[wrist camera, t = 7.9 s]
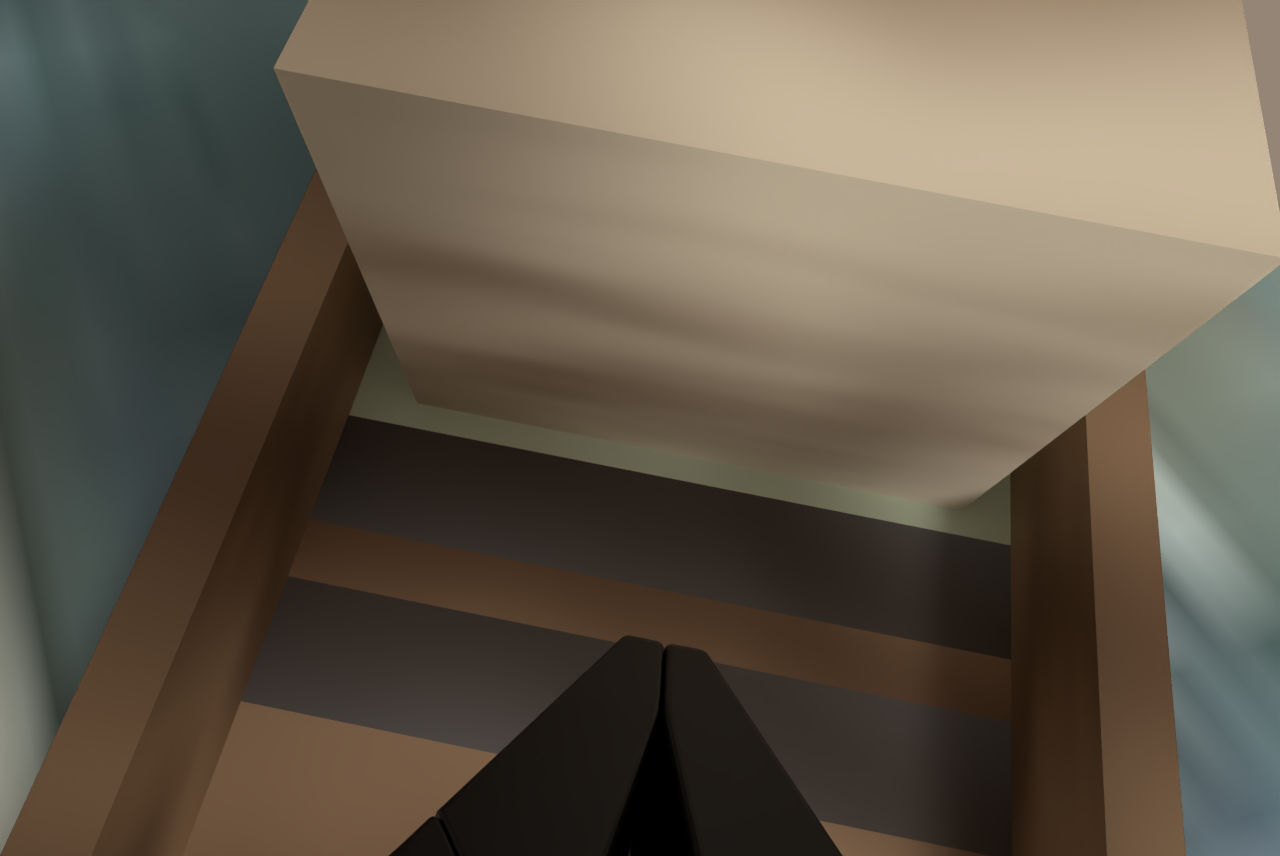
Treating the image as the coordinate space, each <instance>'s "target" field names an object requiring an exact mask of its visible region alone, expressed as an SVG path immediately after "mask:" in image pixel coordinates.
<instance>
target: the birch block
mask: <svg viewBox="0 0 1280 856" xmlns="http://www.w3.org/2000/svg"><path fill="white" fill-rule="evenodd" d="M273 69H274V71H275V73H276V76H277V78H278V80H279V83H280V85H281V87H282V90H283V92H284V94H285V97H286V99H287V101H288V104H289V106H290V108H291V111H292V113H293V115H294V118H295V120H296V122H297V125H298V127H299V129H300V132H301V134H302V136H303V139H304V141H305V143H306V146H307V148H308V150H309V152H310V155H311V157H312V159H313V162H314V164H315V166H316V169H317V171H318V173H319V176H320V178H321V180H322V183H323V185H324V187H325V190H326V192H327V194H328V197H329V199H330V201H331V204H332V206H333V208H334V211H335V213H336V215H337V218H338V220H339V222H340V225H341V227H342V229H343V232H344V234H345V236H346V239H347V241H348V243H349V246H350V248H351V250H352V253H353V255H354V257H355V260H356V262H357V264H358V267H359V269H360V271H361V273H362V276H363V278H364V280H365V283H366V285H367V287H368V290H369V292H370V294H371V297H372V299H373V301H374V304H375V306H376V308H377V311H378V313H379V315H380V318H381V320H382V322H383V325H384V327H385V329H386V332H387V334H388V336H389V339H390V341H391V343H392V346H393V348H394V350H395V353H396V355H397V357H398V360H399V362H400V364H401V367H402V369H403V371H404V374H405V376H406V378H407V381H408V383H409V385H410V387H411V390H412V392H413V394H414V397H415V399H416V401H417V403H419V404H424V405H429V406H434V407H439V408H444V409H449V410H455V411H460V412H465V413H470V414H475V415H480V416H485V417H490V418H495V419H500V420H505V421H510V422H515V423H520V424H526V425H531V426H536V427H541V428H546V429H551V430H556V431H561V432H566V433H571V434H576V435H581V436H586V437H591V438H596V439H602V440H607V441H612V442H617V443H622V444H627V445H632V446H637V447H642V448H647V449H652V450H657V451H662V452H667V453H673V454H678V455H683V456H688V457H693V458H698V459H703V460H708V461H713V462H718V463H723V464H728V465H733V466H738V467H743V468H749V469H754V470H759V471H764V472H769V473H774V474H779V475H784V476H789V477H794V478H799V479H804V480H809V481H814V482H819V483H825V484H830V485H835V486H840V487H845V488H850V489H855V490H860V491H865V492H870V493H875V494H880V495H885V496H890V497H896V498H901V499H906V500H911V501H916V502H921V503H926V504H931V505H936V506H941V507H946V508H951V509H956V510H961V511H962V510H963V509H964V508H966V507H967V506H968V505H969V504H971V503H972V502H973V501H975V500H976V499H977V498H979V497H980V496H981V495H982V494H984V493H985V492H986V491H988V490H989V489H990V488H992V487H993V486H994V485H995V484H997V483H998V482H999V481H1001V480H1002V479H1003V478H1004V477H1006V476H1007V475H1008V474H1010V473H1011V472H1012V471H1014V470H1015V469H1016V468H1017V467H1019V466H1020V465H1021V464H1023V463H1024V462H1025V461H1027V460H1028V459H1029V458H1030V457H1032V456H1033V455H1034V454H1036V453H1037V452H1038V451H1039V450H1041V449H1042V448H1043V447H1045V446H1046V445H1047V444H1049V443H1050V442H1051V441H1052V440H1054V439H1055V438H1056V437H1058V436H1059V435H1060V434H1062V433H1063V432H1064V431H1065V430H1067V429H1068V428H1069V427H1071V426H1072V425H1073V424H1074V423H1076V422H1077V421H1078V420H1080V419H1081V418H1082V417H1084V416H1085V415H1086V414H1087V413H1089V412H1090V411H1091V410H1093V409H1094V408H1095V407H1097V406H1098V405H1099V404H1100V403H1102V402H1103V401H1104V400H1106V399H1107V398H1108V397H1109V396H1111V395H1112V394H1113V393H1115V392H1116V391H1117V390H1119V389H1120V388H1121V387H1122V386H1124V385H1125V384H1126V383H1128V382H1129V381H1130V380H1132V379H1133V378H1134V377H1135V376H1137V375H1138V374H1139V373H1141V372H1142V371H1143V370H1144V369H1146V368H1147V367H1148V366H1150V365H1151V364H1152V363H1154V362H1155V361H1156V360H1157V359H1159V358H1160V357H1161V356H1163V355H1164V354H1165V353H1167V352H1168V351H1169V350H1170V349H1172V348H1173V347H1174V346H1176V345H1177V344H1178V343H1179V342H1181V341H1182V340H1183V339H1185V338H1186V337H1187V336H1189V335H1190V334H1191V333H1192V332H1194V331H1195V330H1196V329H1198V328H1199V327H1200V326H1201V325H1203V324H1204V323H1205V322H1207V321H1208V320H1209V319H1211V318H1212V317H1213V316H1214V315H1216V314H1217V313H1218V312H1220V311H1221V310H1222V309H1224V308H1225V307H1226V306H1227V305H1229V304H1230V303H1231V302H1233V301H1234V300H1235V299H1236V298H1238V297H1239V296H1240V295H1242V294H1243V293H1244V292H1246V291H1247V290H1248V289H1249V288H1251V287H1252V286H1253V285H1255V284H1256V283H1257V282H1259V281H1260V280H1261V279H1262V278H1264V277H1265V276H1266V275H1268V274H1269V273H1270V272H1271V271H1273V270H1274V269H1275V268H1277V267H1278V266H1279V265H1280V211H1279V206H1278V200H1277V195H1276V189H1275V184H1274V178H1273V172H1272V167H1271V162H1270V156H1269V150H1268V145H1267V139H1266V133H1265V128H1264V122H1263V117H1262V111H1261V105H1260V100H1259V95H1258V89H1257V84H1256V78H1255V72H1254V67H1253V61H1252V55H1251V51H1250V44H1249V38H1248V33H1247V27H1246V22H1245V17H1244V11H1243V5H1242V0H309V1H308V3H307V5H306V7H305V9H304V11H303V13H302V15H301V16H300V18H299V20H298V22H297V24H296V26H295V28H294V30H293V32H292V34H291V35H290V37H289V39H288V41H287V43H286V45H285V47H284V49H283V51H282V53H281V55H280V56H279V58H278V60H277V62H276V64H275V66H274V68H273Z"/></svg>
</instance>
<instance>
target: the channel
mask: <svg viewBox="0 0 1280 856" xmlns="http://www.w3.org/2000/svg"><path fill="white" fill-rule="evenodd" d="M382 325H383V322H382V320H381V318H380V315H379V313H378V311H377V308H376V306H375V304H374V301H373V299H372V297H371V294H370V292H369V290H368V287H367V285H366V283H365V280H364V278H363V276H362V273H361V271H360V269H359V267H358V264H357V262H356V260H355V257H354V255H353V253H352V250H351V248H350V246H349V243H348V241H347V239H346V236H345V234H344V232H343V229H342V227H341V225H340V222H339V220H338V218H337V215H336V213H335V211H334V208H333V206H332V204H331V201H330V199H329V197H328V194H327V192H326V190H325V187H324V185H323V183H322V180H321V178H320V176H319V173H318V171H317V169H316V171H315V173H314V175H313V177H312V179H311V182H310V184H309V186H308V188H307V190H306V192H305V195H304V197H303V199H302V201H301V203H300V205H299V208H298V210H297V212H296V214H295V216H294V219H293V221H292V223H291V225H290V227H289V229H288V232H287V234H286V236H285V238H284V240H283V242H282V245H281V247H280V249H279V251H278V253H277V255H276V258H275V260H274V262H273V264H272V266H271V269H270V271H269V273H268V275H267V277H266V279H265V282H264V284H263V286H262V288H261V290H260V292H259V295H258V297H257V299H256V301H255V303H254V305H253V308H252V310H251V312H250V314H249V316H248V319H247V321H246V323H245V325H244V327H243V329H242V332H241V334H240V336H239V338H238V340H237V342H236V345H235V347H234V349H233V351H232V353H231V355H230V358H229V360H228V362H227V364H226V366H225V368H224V371H223V373H222V375H221V377H220V379H219V382H218V384H217V386H216V388H215V390H214V392H213V395H212V397H211V399H210V401H209V403H208V405H207V408H206V410H205V412H204V414H203V416H202V418H201V421H200V423H199V425H198V427H197V429H196V432H195V434H194V436H193V438H192V440H191V442H190V445H189V447H188V449H187V451H186V453H185V455H184V458H183V460H182V462H181V464H180V466H179V468H178V471H177V473H176V475H175V477H174V479H173V482H172V484H171V486H170V488H169V490H168V492H167V495H166V497H165V499H164V501H163V503H162V505H161V508H160V510H159V512H158V514H157V516H156V518H155V521H154V523H153V525H152V527H151V529H150V532H149V534H148V536H147V538H146V540H145V542H144V545H143V547H142V549H141V551H140V553H139V555H138V558H137V560H136V562H135V564H134V566H133V568H132V571H131V573H130V575H129V577H128V579H127V582H126V584H125V586H124V588H123V590H122V592H121V595H120V597H119V599H118V601H117V603H116V605H115V608H114V610H113V612H112V614H111V616H110V618H109V621H108V623H107V625H106V627H105V629H104V632H103V634H102V636H101V638H100V640H99V642H98V645H97V647H96V649H95V651H94V653H93V655H92V658H91V660H90V662H89V664H88V666H87V668H86V671H85V673H84V675H83V677H82V679H81V681H80V684H79V686H78V688H77V690H76V692H75V695H74V697H73V699H72V701H71V703H70V705H69V708H68V710H67V712H66V714H65V716H64V718H63V721H62V723H61V725H60V727H59V729H58V731H57V734H56V736H55V738H54V740H53V742H52V745H51V747H50V749H49V751H48V753H47V755H46V758H45V760H44V762H43V764H42V766H41V768H40V771H39V773H38V775H37V777H36V779H35V781H34V784H33V786H32V788H31V790H30V792H29V795H28V797H27V799H26V801H25V803H24V805H23V808H22V810H21V812H20V814H19V816H18V818H17V821H16V823H15V825H14V827H13V829H12V831H11V834H10V836H9V838H8V840H7V842H6V845H5V847H4V849H3V851H2V853H1V855H0V856H389V855H390V854H391V853H392V852H393V851H394V850H395V849H397V848H398V847H399V846H400V845H401V844H402V843H403V842H404V841H405V840H406V839H407V838H408V837H409V836H410V835H412V834H413V833H414V832H415V831H416V830H417V829H418V828H419V827H420V826H421V825H422V824H423V823H424V822H425V821H426V820H427V819H428V818H430V817H432V816H435V815H436V812H437V811H438V810H439V809H440V808H441V807H442V806H443V805H444V804H445V803H446V802H447V801H448V800H449V799H450V798H451V797H453V796H454V795H455V794H456V793H457V792H458V791H459V790H460V789H461V788H462V787H463V786H464V785H465V784H466V783H467V782H469V781H470V780H471V779H472V778H473V777H474V776H475V775H476V774H477V773H478V772H479V771H480V770H481V769H482V768H483V767H484V766H486V765H487V764H488V763H489V762H490V761H491V760H492V759H493V758H494V757H495V756H496V755H497V754H498V753H499V752H500V751H502V750H503V749H504V748H505V747H506V746H507V745H508V744H509V743H510V742H511V741H512V740H513V739H514V738H515V737H516V736H517V735H519V734H520V733H521V732H522V731H523V730H524V729H525V728H526V727H527V726H528V725H529V724H530V723H531V722H532V721H533V720H535V719H536V718H537V717H538V716H539V715H540V714H541V713H542V712H543V711H544V710H545V709H546V708H547V707H548V706H549V705H550V704H552V703H553V702H554V701H555V700H556V699H557V698H558V697H559V696H560V695H561V694H562V693H563V692H564V691H565V690H566V689H567V688H569V687H570V686H571V685H572V684H573V683H574V682H575V681H576V680H577V679H578V678H579V677H580V676H581V675H582V674H583V673H585V672H586V671H587V670H588V669H589V668H590V667H591V666H592V665H593V664H594V663H595V662H596V661H597V660H598V659H599V658H600V657H602V656H603V655H604V654H605V653H606V652H607V651H608V650H609V649H610V648H611V647H612V646H613V645H614V644H615V643H616V642H618V641H619V640H620V639H621V638H622V637H623V636H626V635H631V636H636V637H641V638H645V639H650V640H655V641H659V642H660V643H661V644H662V645H663V647H664V649H665V647H666V646H667V645H669V644H675V645H680V646H685V647H691V648H696V649H701V650H703V651H705V652H706V653H707V654H708V655H709V656H710V658H711V659H712V661H713V662H714V664H715V665H716V667H717V668H718V670H719V671H720V673H721V674H722V676H723V677H724V679H725V680H726V682H727V683H728V685H729V686H730V688H731V689H732V691H733V692H734V694H735V695H736V697H737V698H738V700H739V701H740V703H741V704H742V706H743V707H744V709H745V710H746V712H747V713H748V715H749V716H750V718H751V719H752V721H753V722H754V724H755V725H756V727H757V728H758V730H759V731H760V733H761V734H762V736H763V737H764V739H765V740H766V742H767V743H768V745H769V746H770V748H771V749H772V751H773V752H774V754H775V755H776V757H777V758H778V760H779V761H780V763H781V764H782V766H783V767H784V769H785V770H786V772H787V773H788V775H789V776H790V778H791V779H792V781H793V782H794V784H795V785H796V787H797V788H798V790H799V791H800V793H801V794H802V796H803V797H804V799H805V800H806V802H807V803H808V805H809V806H810V808H811V809H812V811H813V812H814V814H815V815H816V817H817V818H818V820H819V821H820V823H821V824H822V826H823V827H824V828H825V830H826V831H827V833H828V834H829V836H830V837H831V839H832V840H833V842H834V843H835V845H836V846H837V848H838V849H839V851H840V852H841V854H842V855H843V856H1186V850H1185V838H1184V826H1183V814H1182V802H1181V790H1180V779H1179V767H1178V755H1177V743H1176V731H1175V719H1174V707H1173V695H1172V684H1171V672H1170V660H1169V648H1168V636H1167V624H1166V612H1165V601H1164V589H1163V577H1162V565H1161V553H1160V541H1159V529H1158V517H1157V506H1156V494H1155V482H1154V470H1153V458H1152V446H1151V434H1150V423H1149V411H1148V399H1147V387H1146V375H1145V369H1144V370H1143V371H1142V372H1141V373H1139V374H1138V375H1137V376H1135V377H1134V378H1133V379H1132V380H1130V381H1129V382H1128V383H1126V384H1125V385H1124V386H1122V387H1121V388H1120V389H1119V390H1117V391H1116V392H1115V393H1113V394H1112V395H1111V396H1109V397H1108V398H1107V399H1106V400H1104V401H1103V402H1102V403H1100V404H1099V405H1098V406H1097V407H1095V408H1094V409H1093V410H1091V411H1090V412H1089V413H1087V414H1086V415H1085V416H1084V417H1082V418H1081V419H1080V420H1078V421H1077V422H1076V423H1074V424H1073V425H1072V426H1071V427H1069V428H1068V429H1067V430H1065V431H1064V432H1063V433H1062V434H1060V435H1059V436H1058V437H1056V438H1055V439H1054V440H1052V441H1051V442H1050V443H1049V444H1047V445H1046V446H1045V447H1043V448H1042V449H1041V450H1039V451H1038V452H1037V453H1036V454H1034V455H1033V456H1032V457H1030V458H1029V459H1028V460H1027V461H1025V462H1024V463H1023V464H1021V465H1020V466H1019V467H1017V468H1016V469H1015V470H1014V471H1012V472H1011V473H1010V511H1011V545H1006V544H1001V543H996V542H991V541H986V540H981V539H975V538H971V537H965V536H960V535H956V534H950V533H946V532H940V531H935V530H930V529H925V528H920V527H915V526H910V525H905V524H899V523H895V522H889V521H884V520H880V519H874V518H869V517H864V516H859V515H854V514H848V513H843V512H838V511H833V510H829V509H823V508H818V507H814V506H808V505H803V504H798V503H793V502H788V501H782V500H778V499H772V498H767V497H763V496H758V495H753V494H748V493H742V492H737V491H732V490H727V489H722V488H717V487H711V486H707V485H701V484H696V483H691V482H686V481H682V480H676V479H671V478H666V477H661V476H656V475H650V474H645V473H640V472H636V471H631V470H625V469H620V468H616V467H611V466H605V465H600V464H595V463H590V462H585V461H579V460H575V459H569V458H564V457H559V456H555V455H550V454H544V453H539V452H534V451H529V450H524V449H518V448H514V447H508V446H504V445H498V444H494V443H489V442H483V441H478V440H473V439H468V438H463V437H457V436H452V435H447V434H442V433H438V432H432V431H427V430H422V429H417V428H412V427H407V426H402V425H397V424H392V423H386V422H382V421H376V420H372V419H367V418H361V417H356V416H352V415H349V413H350V411H351V408H352V405H353V403H354V400H355V397H356V395H357V392H358V389H359V387H360V384H361V381H362V379H363V376H364V373H365V371H366V368H367V365H368V363H369V360H370V357H371V355H372V352H373V349H374V347H375V344H376V341H377V339H378V336H379V333H380V331H381V328H382Z"/></svg>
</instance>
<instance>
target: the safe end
mask: <svg viewBox="0 0 1280 856" xmlns="http://www.w3.org/2000/svg"><path fill="white" fill-rule="evenodd" d="M349 415H352V416H356V417H361V418H367V419H372V420H376V421H382V422H386V423H392V424H397V425H402V426H407V427H412V428H417V429H422V430H427V431H432V432H438V433H442V434H447V435H452V436H457V437H463V438H468V439H473V440H478V441H483V442H489V443H494V444H498V445H504V446H508V447H514V448H518V449H524V450H529V451H534V452H539V453H544V454H550V455H555V456H559V457H564V458H569V459H575V460H579V461H585V462H590V463H595V464H600V465H605V466H611V467H616V468H620V469H625V470H631V471H636V472H640V473H645V474H650V475H656V476H661V477H666V478H671V479H676V480H682V481H686V482H691V483H696V484H701V485H707V486H711V487H717V488H722V489H727V490H732V491H737V492H742V493H748V494H753V495H758V496H763V497H767V498H772V499H778V500H782V501H788V502H793V503H798V504H803V505H808V506H814V507H818V508H823V509H829V510H833V511H838V512H843V513H848V514H854V515H859V516H864V517H869V518H874V519H880V520H884V521H889V522H895V523H899V524H905V525H910V526H915V527H920V528H925V529H930V530H935V531H940V532H946V533H950V534H956V535H960V536H965V537H971V538H975V539H981V540H986V541H991V542H996V543H1001V544H1006V545H1011V511H1010V474H1008V475H1007V476H1006V477H1004V478H1003V479H1002V480H1001V481H999V482H998V483H997V484H995V485H994V486H993V487H992V488H990V489H989V490H988V491H986V492H985V493H984V494H982V495H981V496H980V497H979V498H977V499H976V500H975V501H973V502H972V503H971V504H969V505H968V506H967V507H966V508H964V509H963V510H962V511H961V510H956V509H951V508H946V507H941V506H936V505H931V504H926V503H921V502H916V501H911V500H906V499H901V498H896V497H890V496H885V495H880V494H875V493H870V492H865V491H860V490H855V489H850V488H845V487H840V486H835V485H830V484H825V483H819V482H814V481H809V480H804V479H799V478H794V477H789V476H784V475H779V474H774V473H769V472H764V471H759V470H754V469H749V468H743V467H738V466H733V465H728V464H723V463H718V462H713V461H708V460H703V459H698V458H693V457H688V456H683V455H678V454H673V453H667V452H662V451H657V450H652V449H647V448H642V447H637V446H632V445H627V444H622V443H617V442H612V441H607V440H602V439H596V438H591V437H586V436H581V435H576V434H571V433H566V432H561V431H556V430H551V429H546V428H541V427H536V426H531V425H526V424H520V423H515V422H510V421H505V420H500V419H495V418H490V417H485V416H480V415H475V414H470V413H465V412H460V411H455V410H449V409H444V408H439V407H434V406H429V405H424V404H419V403H417V401H416V399H415V397H414V394H413V392H412V390H411V387H410V385H409V383H408V381H407V378H406V376H405V374H404V371H403V369H402V367H401V364H400V362H399V360H398V357H397V355H396V353H395V350H394V348H393V346H392V343H391V341H390V339H389V336H388V334H387V332H386V329H385V327H384V325H382V328H381V331H380V333H379V336H378V339H377V341H376V344H375V347H374V349H373V352H372V355H371V357H370V360H369V363H368V365H367V368H366V371H365V373H364V376H363V379H362V381H361V384H360V387H359V389H358V392H357V395H356V397H355V400H354V403H353V405H352V408H351V411H350V413H349Z"/></svg>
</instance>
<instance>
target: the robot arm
mask: <svg viewBox="0 0 1280 856" xmlns="http://www.w3.org/2000/svg"><path fill="white" fill-rule="evenodd" d="M389 856H843V855H842V854H841V852H840V851H839V849H838V848H837V846H836V845H835V843H834V842H833V840H832V839H831V837H830V836H829V834H828V833H827V831H826V830H825V828H824V827H823V826H822V824H821V823H820V821H819V820H818V818H817V817H816V815H815V814H814V812H813V811H812V809H811V808H810V806H809V805H808V803H807V802H806V800H805V799H804V797H803V796H802V794H801V793H800V791H799V790H798V788H797V787H796V785H795V784H794V782H793V781H792V779H791V778H790V776H789V775H788V773H787V772H786V770H785V769H784V767H783V766H782V764H781V763H780V761H779V760H778V758H777V757H776V755H775V754H774V752H773V751H772V749H771V748H770V746H769V745H768V743H767V742H766V740H765V739H764V737H763V736H762V734H761V733H760V731H759V730H758V728H757V727H756V725H755V724H754V722H753V721H752V719H751V718H750V716H749V715H748V713H747V712H746V710H745V709H744V707H743V706H742V704H741V703H740V701H739V700H738V698H737V697H736V695H735V694H734V692H733V691H732V689H731V688H730V686H729V685H728V683H727V682H726V680H725V679H724V677H723V676H722V674H721V673H720V671H719V670H718V668H717V667H716V665H715V664H714V662H713V661H712V659H711V658H710V656H709V655H708V654H707V653H706V652H705V651H703V650H701V649H696V648H691V647H685V646H680V645H675V644H669V645H667V646H666V647H665V649H664V647H663V645H662V644H661V643H660V642H659V641H655V640H650V639H645V638H641V637H636V636H631V635H626V636H623V637H622V638H621V639H620V640H619V641H618V642H616V643H615V644H614V645H613V646H612V647H611V648H610V649H609V650H608V651H607V652H606V653H605V654H604V655H603V656H602V657H600V658H599V659H598V660H597V661H596V662H595V663H594V664H593V665H592V666H591V667H590V668H589V669H588V670H587V671H586V672H585V673H583V674H582V675H581V676H580V677H579V678H578V679H577V680H576V681H575V682H574V683H573V684H572V685H571V686H570V687H569V688H567V689H566V690H565V691H564V692H563V693H562V694H561V695H560V696H559V697H558V698H557V699H556V700H555V701H554V702H553V703H552V704H550V705H549V706H548V707H547V708H546V709H545V710H544V711H543V712H542V713H541V714H540V715H539V716H538V717H537V718H536V719H535V720H533V721H532V722H531V723H530V724H529V725H528V726H527V727H526V728H525V729H524V730H523V731H522V732H521V733H520V734H519V735H517V736H516V737H515V738H514V739H513V740H512V741H511V742H510V743H509V744H508V745H507V746H506V747H505V748H504V749H503V750H502V751H500V752H499V753H498V754H497V755H496V756H495V757H494V758H493V759H492V760H491V761H490V762H489V763H488V764H487V765H486V766H484V767H483V768H482V769H481V770H480V771H479V772H478V773H477V774H476V775H475V776H474V777H473V778H472V779H471V780H470V781H469V782H467V783H466V784H465V785H464V786H463V787H462V788H461V789H460V790H459V791H458V792H457V793H456V794H455V795H454V796H453V797H451V798H450V799H449V800H448V801H447V802H446V803H445V804H444V805H443V806H442V807H441V808H440V809H439V810H438V811H437V812H436V815H435V816H432V817H430V818H428V819H427V820H426V821H425V822H424V823H423V824H422V825H421V826H420V827H419V828H418V829H417V830H416V831H415V832H414V833H413V834H412V835H410V836H409V837H408V838H407V839H406V840H405V841H404V842H403V843H402V844H401V845H400V846H399V847H398V848H397V849H395V850H394V851H393V852H392V853H391V854H390V855H389Z"/></svg>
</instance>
